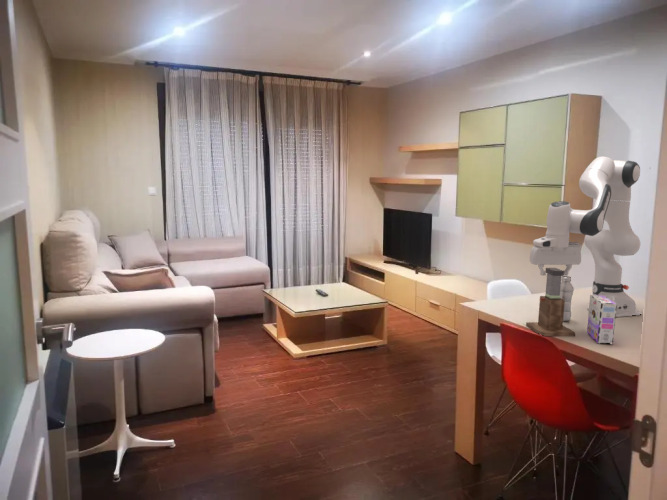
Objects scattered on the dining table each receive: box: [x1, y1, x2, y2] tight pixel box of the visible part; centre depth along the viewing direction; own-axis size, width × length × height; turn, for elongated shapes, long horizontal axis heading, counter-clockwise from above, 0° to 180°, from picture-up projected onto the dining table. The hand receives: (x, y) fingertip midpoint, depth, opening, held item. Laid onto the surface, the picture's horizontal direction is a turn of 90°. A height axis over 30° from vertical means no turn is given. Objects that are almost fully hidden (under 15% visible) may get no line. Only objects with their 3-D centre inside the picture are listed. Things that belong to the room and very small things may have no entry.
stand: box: [525, 295, 576, 337], centre depth 209 cm, size 14×14×14 cm
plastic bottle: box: [560, 275, 575, 322], centre depth 223 cm, size 6×7×20 cm
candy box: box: [586, 294, 617, 344], centre depth 200 cm, size 14×6×16 cm, turn 170°
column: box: [544, 267, 564, 300], centre depth 208 cm, size 4×7×18 cm, turn 4°
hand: (554, 275), depth 207 cm, fingers open, 8 cm apart
